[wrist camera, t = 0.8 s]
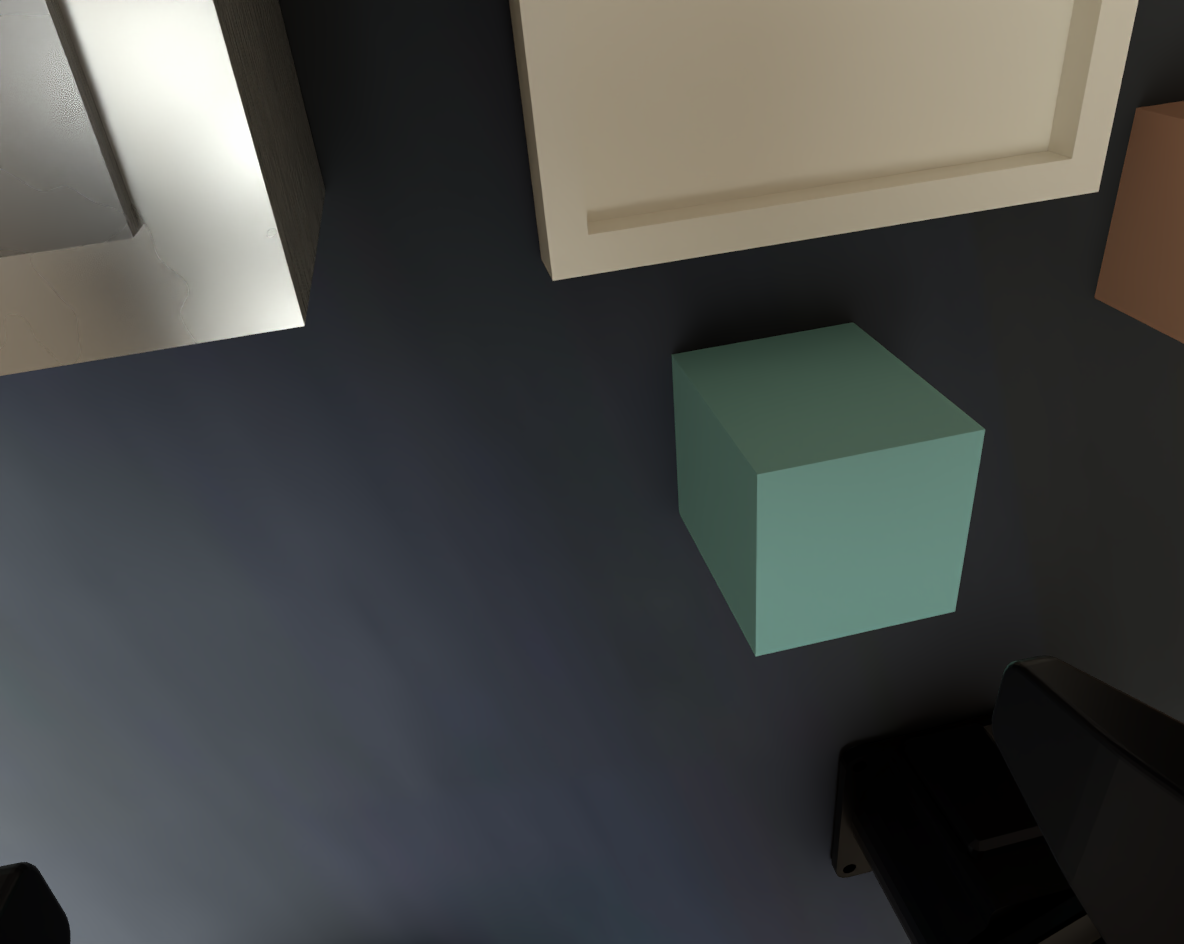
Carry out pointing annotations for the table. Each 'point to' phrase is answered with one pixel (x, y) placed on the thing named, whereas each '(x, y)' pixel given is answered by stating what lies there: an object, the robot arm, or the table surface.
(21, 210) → the box
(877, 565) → the teal block
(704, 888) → the table surface
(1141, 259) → the terracotta block
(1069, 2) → the tray
